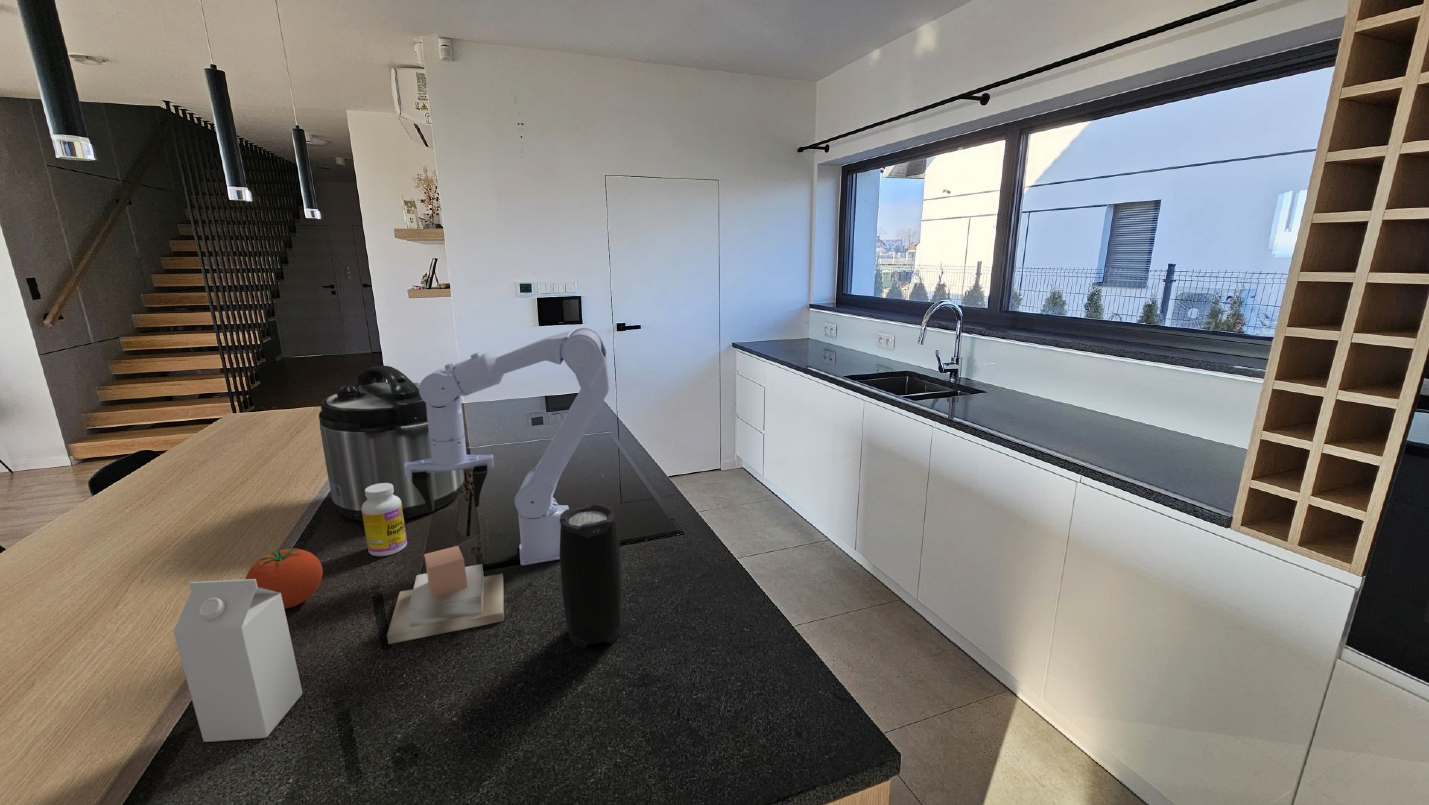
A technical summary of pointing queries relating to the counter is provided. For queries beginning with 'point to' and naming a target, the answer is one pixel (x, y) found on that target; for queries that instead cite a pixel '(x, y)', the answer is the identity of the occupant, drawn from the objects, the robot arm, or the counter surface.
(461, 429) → the robot arm
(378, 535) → the supplement bottle
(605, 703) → the counter surface
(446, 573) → the cube
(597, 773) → the counter surface
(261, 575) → the tomato
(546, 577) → the counter surface
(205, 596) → the milk carton
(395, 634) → the base
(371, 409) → the pressure cooker
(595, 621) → the portable speaker
